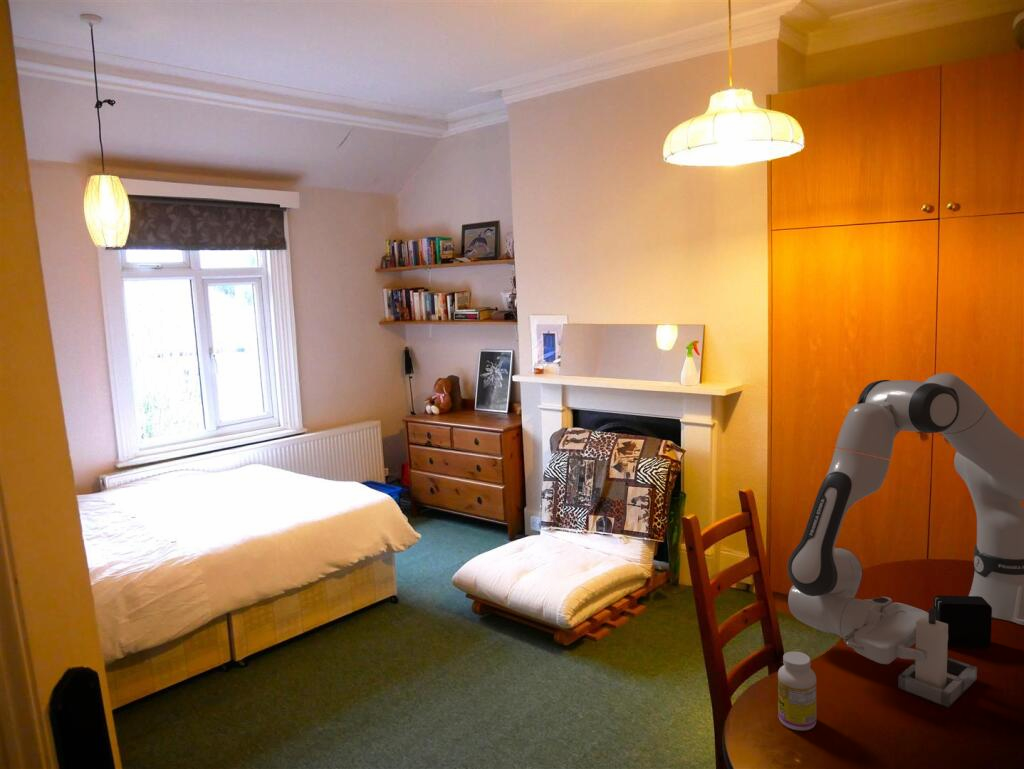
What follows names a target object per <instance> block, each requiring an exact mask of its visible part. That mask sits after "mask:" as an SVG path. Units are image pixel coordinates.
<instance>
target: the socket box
mask: <svg viewBox="0 0 1024 769" xmlns="http://www.w3.org/2000/svg"><path fill="white" fill-rule="evenodd" d="M977 673H978V667H977V666H973V665H971V664H969V663H966V662H962V661H959V660H957V659H954V658H951V657H948V656H947V681H946V688H945V689H944V690H942V689H940V688H937V687H934V686H932V685H929V684H926V683H924V682H921V681H918V680H916V679H915V662H913V663H912V664H911V665H909V667H907V668H905V670H904V671H903V672H902V673H900V674H898V680H897V681H898V682H897V683H898V686H897V687H898V690H900V691H903V692H905V693H908V694H911V695H912V696H915V697H918V698H921V699H922V700H926V701H928V702H931V703H933V704H935V705H938V706H941V707H943V708H946V709H949V708H950V707H951V706H952V705H953V704H954V703H955V702H956V701H957V700H958V699H959V698H960V697H961V696H962V695H963V694H964V693H965V692H966V691H967V690H968V689H969V688H970V687H972V686H973V684H974V683H976V681H977V680H978V679H977V678H978V677H977V676H978V674H977Z"/></svg>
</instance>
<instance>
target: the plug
mask: <svg viewBox="0 0 1024 769" xmlns="http://www.w3.org/2000/svg"><path fill="white" fill-rule="evenodd" d="M928 613H929V618H927V617H924V616H923V617H922V618H920V619H919V620H918V621H916V643H915V649H917V648H920V649H922V650H925V651H926V652H927V659H925V660H924V661H923V662H921V661H918V660H915V659H914V661H915V662H914V663H915V679H916V680H918V681H921V682H924V683H926V684H929V685H932V686H934V687H937V688H940V689H942V690H944V689H945V688H946V681H947V657H948V647H947V646H948V624H946V623H943V622H940V621H937V620H936V610H935V609H934V608H933V607H930V608H929V609H928Z"/></svg>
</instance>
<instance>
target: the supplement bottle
mask: <svg viewBox="0 0 1024 769" xmlns="http://www.w3.org/2000/svg"><path fill="white" fill-rule="evenodd" d="M782 657H783V658H782V660H783V661H782V663H783V665H782V666H780V667H779V669H778V672H777V683H778V684H777V706H778V707H777V709H778V711H777V714H778V719H779V721H780V723H781V724H782V725H784V726H785V727H786V728H788V729H792V730H794V731H799V732H800V731H802V732H803V731H809V730H812V729H813V728H814V727H815V725H816V724H817V676H816V673H815V671H814V670H813V669H811V665H812V664H811V657H810V656H809V655H807V654H806V653H804V652H801V651H788V652H785V653H784V654H783V656H782Z"/></svg>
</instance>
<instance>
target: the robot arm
mask: <svg viewBox="0 0 1024 769" xmlns="http://www.w3.org/2000/svg"><path fill="white" fill-rule="evenodd" d="M901 431H902V432H903V431H904V432H906V431H907V432H919V433H920V432H921V433H923V434H936V433H940V434H941V436H943V437H944V438H945V439H946V441H947V442H948V443H949V444H950V445H951V446H952V447H953V449H954V450H955V451H956V453H955V455H954V462H953V464H954V469H955V472H956V473H957V474H958V476H960V477H961V478H962V480H963V482H964V483H965V485H966V487H967V489H968V491H969V494H970V496H971V500H972V502H973V507H974V509H975V514H976V545H975V546H974V551H973V552H974V553H973V567H974V574H973V579H972V584H971V587H970V591H969V594H968V596H980V597H982V598H983V599H984V600H985V601H986V602H987V603H988V604H989V605H990V606H991V607H992V618H994V619H998V620H1004V621H1008V622H1013V623H1016V624H1018V625H1021V626H1024V505H1023V504H1022V502H1024V438H1023V437H1021V436H1020V435H1018V434H1017V433H1016V432H1014V431H1013V430H1012V429H1011V428H1009V426H1007V425H1006V424H1005V423H1004V421H1002V420H1001V419H1000V418H999V416H998V415H997V414H996V413H995V412H994V411H993V410H992V408H990V407H989V405H988V404H987V403H986V402H985V401H984V398H982V397H981V396H980V395H979V394H978V392H977V391H976V390H974V389H973V388H972V387H971V386H970V385H969V384H968V383H966V382H965V381H964V380H962V379H961V378H960V377H959V376H957V375H956V374H953V373H948V372H941V373H938V374H937V373H935V374H934V375H932V376H929V377H927V379H925V380H924V381H918V380H910V379H909V380H908V379H907V380H903V379H902V380H889V379H881V380H876V381H873V382H870V383H868V384H867V385H866V386H865V387H864V389H863V390H862V391H861V392H860V395H859V396H858V400H857V403H856V404H854V405H853V406H852V407H850V408H849V410H848V412H847V414H846V416H845V417H844V420H843V423H842V425H841V427H840V431H839V434H838V436H837V439H836V442H835V448H834V452H833V455H832V458H831V462H830V465H829V467H828V470H827V473H826V475H825V477H824V478H823V481H822V483H821V485H820V487H819V490H818V492H817V495H816V497H815V501H814V503H813V506H812V509H811V510H810V511H811V512H810V515H809V518H808V521H807V523H806V525H805V526H806V527H805V529H804V532H803V536H802V538H801V540H800V542H799V543H798V544H797V546H796V547H795V548H794V550H793V551H792V553H791V554H790V556H789V558H788V561H787V575H788V577H789V580H790V582H791V583H792V586H791V588H790V590H789V593H788V596H787V600H788V601H787V602H788V608H789V611H790V613H791V614H792V616H793V617H794V618H795V619H797V621H800V622H802V624H803V623H804V624H805V625H807V626H809V627H812V628H815V629H817V630H818V631H821V632H824V633H829V634H834V635H835V634H836V635H837V636H839V637H841V638H842V639H843V641H844V642H843V643H844V644H845V645H846V646H847V647H848V648H850V649H851V648H852V649H853V650H854V651H855V652H856V653H857V654H859V655H861V656H863V657H865V658H866V659H868V660H871V661H874V662H876V663H878V664H883V665H889V664H891V663H893V661H895V660H896V659H897V658H899V659H902V660H903V659H904V660H914V661H915V660H918V661H921V662H923V661H924V660H925V659H927V652H926V651H925V650H922V649H920V648H917V649H916V648H911V647H912V646H913V645H915V644H916V621H918V620H919V619H920V618H922V617H923V616H924V617H927V618H929V611H925V610H923V609H921V608H919V607H918V608H917V607H915V606H912V605H909V604H905V603H901V602H893V599H891V598H890V597H888V596H879V597H876V598H870V599H868V598H866V599H860V598H856V596H857V594H858V591H859V589H860V586H861V582H862V580H863V575H864V574H863V571H864V570H863V566H862V564H861V561H860V559H859V558H858V557H857V555H856V554H855V553H854V552H852V551H851V550H848V549H846V548H840V547H839V548H838V547H836V543H837V540H838V537H839V535H840V532H841V528H842V526H843V522H844V519H845V517H846V515H847V512H848V511H849V510H850V508H852V506H854V504H856V503H857V502H858V501H861V500H862V499H864V498H865V497H868V496H870V495H873V494H874V493H876V492H877V491H878V490H879V489H880V488H881V487H882V485H883V483H884V481H885V480H886V477H887V475H888V471H889V468H890V463H891V459H892V454H893V449H894V444H895V443H894V442H895V438H896V437H897V435H898V434H900V432H901Z"/></svg>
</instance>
